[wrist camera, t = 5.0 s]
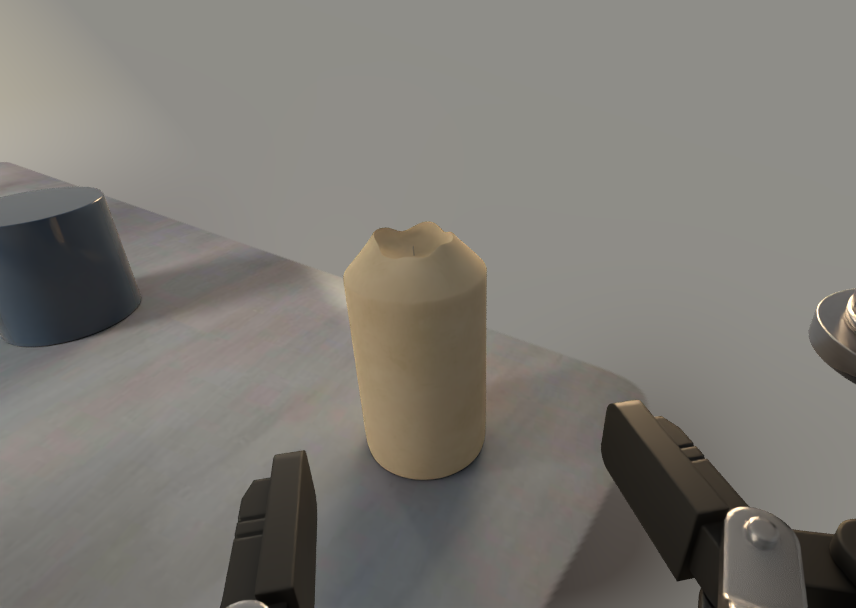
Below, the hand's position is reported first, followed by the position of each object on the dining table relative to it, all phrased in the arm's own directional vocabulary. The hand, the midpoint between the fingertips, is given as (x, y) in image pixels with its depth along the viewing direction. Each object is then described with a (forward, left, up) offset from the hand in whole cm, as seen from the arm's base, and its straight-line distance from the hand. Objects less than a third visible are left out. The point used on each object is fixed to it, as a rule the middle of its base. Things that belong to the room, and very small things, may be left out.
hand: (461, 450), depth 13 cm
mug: (+11, -32, -7) cm, 35 cm away
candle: (-3, -7, -7) cm, 11 cm away
